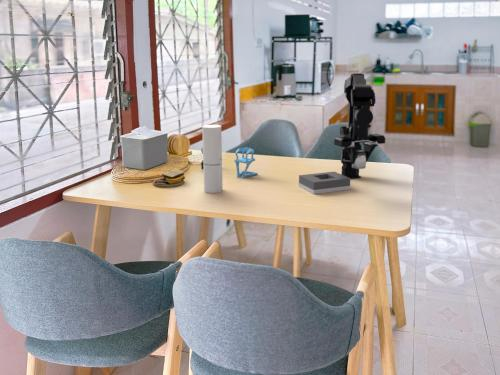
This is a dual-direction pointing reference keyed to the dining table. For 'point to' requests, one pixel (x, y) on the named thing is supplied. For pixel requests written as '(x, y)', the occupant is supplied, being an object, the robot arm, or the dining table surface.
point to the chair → (244, 160)
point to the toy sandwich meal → (170, 179)
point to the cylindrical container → (212, 158)
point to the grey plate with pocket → (324, 182)
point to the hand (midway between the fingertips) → (358, 163)
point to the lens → (360, 160)
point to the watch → (202, 160)
